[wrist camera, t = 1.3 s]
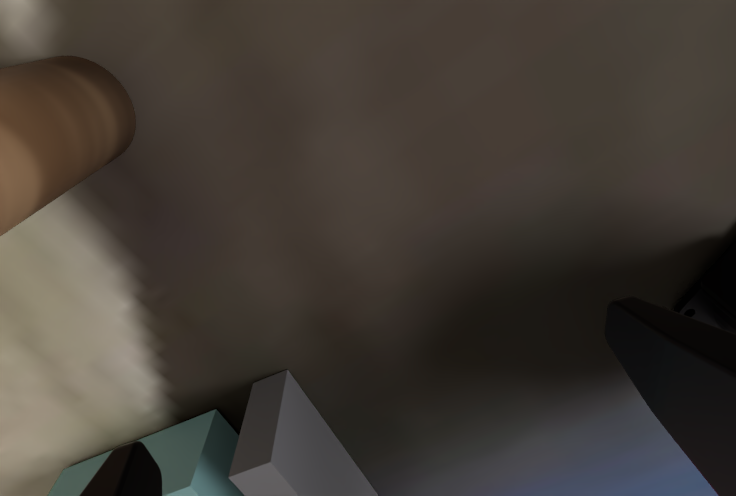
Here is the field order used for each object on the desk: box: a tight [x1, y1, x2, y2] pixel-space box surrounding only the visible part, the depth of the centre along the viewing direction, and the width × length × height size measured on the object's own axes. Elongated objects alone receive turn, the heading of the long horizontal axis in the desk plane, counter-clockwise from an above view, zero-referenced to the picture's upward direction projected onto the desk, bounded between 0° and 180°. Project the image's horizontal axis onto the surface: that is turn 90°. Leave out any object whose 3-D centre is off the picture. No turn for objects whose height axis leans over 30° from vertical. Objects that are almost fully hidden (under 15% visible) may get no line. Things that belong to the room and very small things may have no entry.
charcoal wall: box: [228, 369, 378, 496], centre depth 25 cm, size 2×11×6 cm, turn 26°
